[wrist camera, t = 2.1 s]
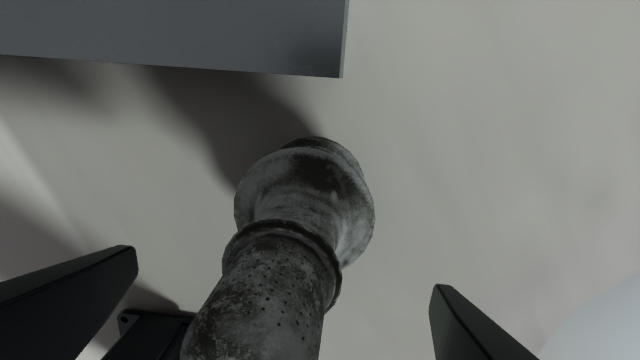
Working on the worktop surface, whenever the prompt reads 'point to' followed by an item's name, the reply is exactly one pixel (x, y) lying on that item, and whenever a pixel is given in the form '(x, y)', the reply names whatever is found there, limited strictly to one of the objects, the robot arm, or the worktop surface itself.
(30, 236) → the worktop surface
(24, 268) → the worktop surface
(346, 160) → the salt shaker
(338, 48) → the grey flat block
